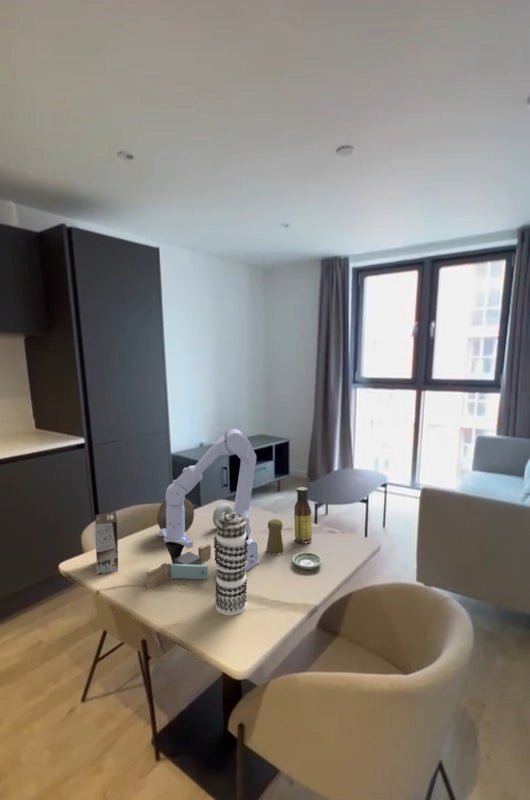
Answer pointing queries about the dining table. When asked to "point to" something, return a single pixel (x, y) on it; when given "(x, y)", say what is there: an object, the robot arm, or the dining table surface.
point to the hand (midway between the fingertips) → (175, 562)
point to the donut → (221, 511)
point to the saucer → (306, 560)
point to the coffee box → (106, 542)
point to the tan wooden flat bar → (162, 572)
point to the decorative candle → (231, 564)
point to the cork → (275, 537)
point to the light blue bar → (188, 571)
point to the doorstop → (188, 559)
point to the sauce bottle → (302, 517)
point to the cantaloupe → (188, 514)
